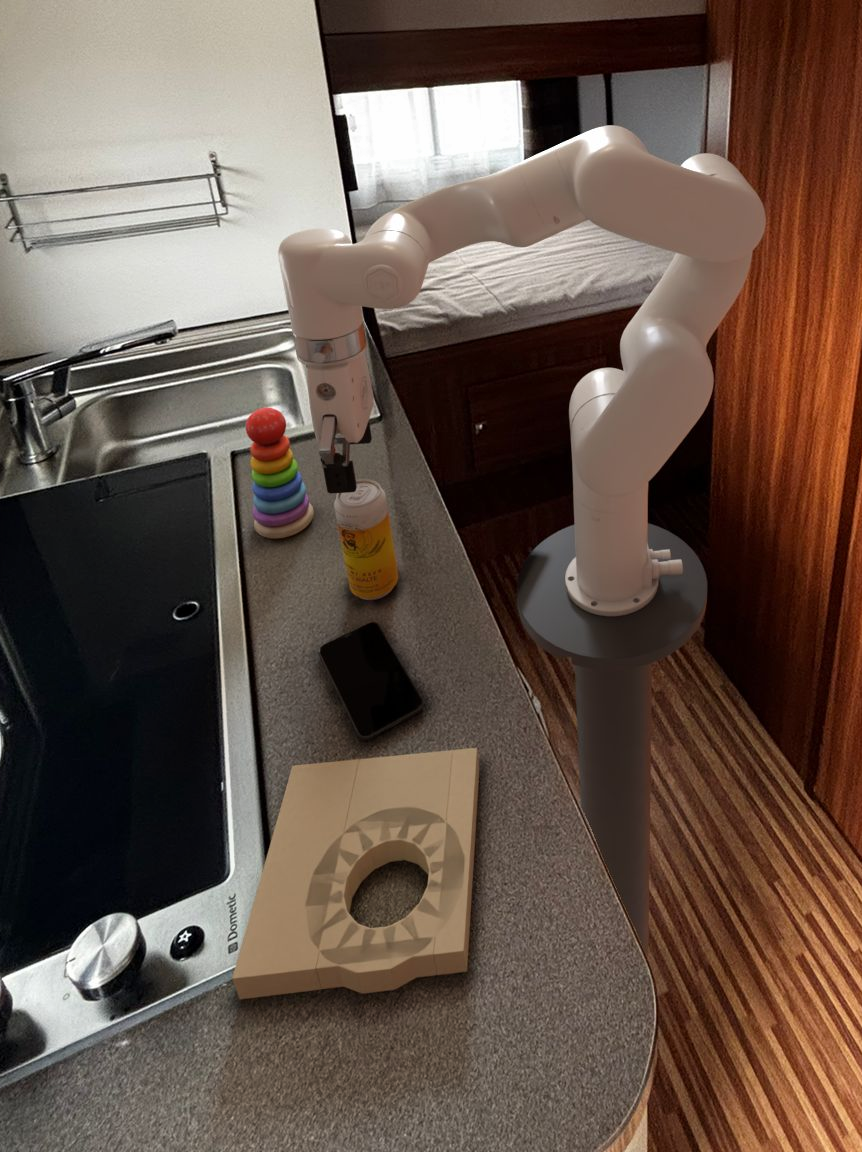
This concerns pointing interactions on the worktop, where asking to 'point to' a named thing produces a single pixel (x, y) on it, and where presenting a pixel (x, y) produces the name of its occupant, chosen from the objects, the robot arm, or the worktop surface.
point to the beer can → (367, 540)
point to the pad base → (363, 875)
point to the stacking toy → (275, 478)
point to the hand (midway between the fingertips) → (351, 465)
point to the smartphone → (370, 680)
